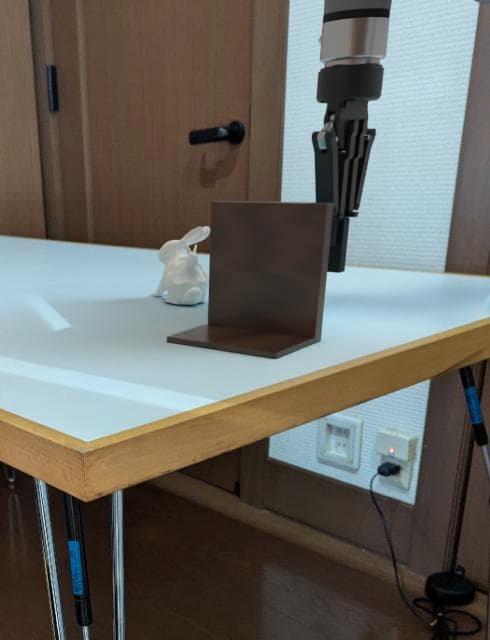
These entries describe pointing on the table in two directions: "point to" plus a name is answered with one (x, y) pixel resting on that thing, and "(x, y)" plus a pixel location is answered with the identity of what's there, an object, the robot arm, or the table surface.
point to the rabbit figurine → (183, 270)
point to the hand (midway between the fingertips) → (332, 271)
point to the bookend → (265, 277)
